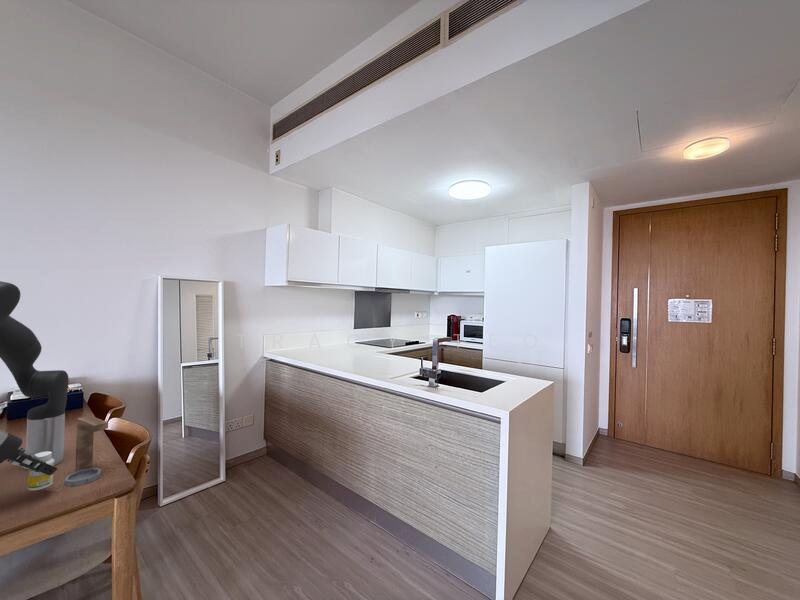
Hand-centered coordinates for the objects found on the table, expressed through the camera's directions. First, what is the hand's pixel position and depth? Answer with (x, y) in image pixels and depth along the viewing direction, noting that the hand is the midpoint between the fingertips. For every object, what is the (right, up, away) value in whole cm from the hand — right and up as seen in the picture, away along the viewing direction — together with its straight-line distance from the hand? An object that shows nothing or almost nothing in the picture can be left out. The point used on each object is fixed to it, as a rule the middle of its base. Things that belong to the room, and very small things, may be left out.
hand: (49, 469), depth 101 cm
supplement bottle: (-1, -4, -2) cm, 5 cm away
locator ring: (+4, -7, +7) cm, 11 cm away
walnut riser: (+3, -7, +11) cm, 13 cm away
